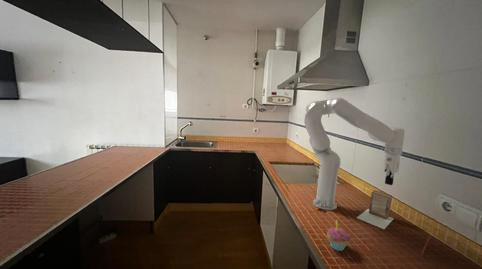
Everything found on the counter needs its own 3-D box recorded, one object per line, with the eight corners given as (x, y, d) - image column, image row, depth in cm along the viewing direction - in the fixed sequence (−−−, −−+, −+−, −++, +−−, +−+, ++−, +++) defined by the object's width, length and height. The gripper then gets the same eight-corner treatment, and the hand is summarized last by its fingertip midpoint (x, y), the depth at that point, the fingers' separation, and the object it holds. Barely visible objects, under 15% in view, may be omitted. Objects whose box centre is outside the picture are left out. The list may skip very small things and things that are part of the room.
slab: (386, 219, 102) (389, 197, 101) (368, 213, 108) (371, 191, 107) (388, 217, 105) (392, 195, 103) (371, 210, 111) (374, 189, 110)
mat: (384, 230, 94) (384, 229, 94) (356, 218, 103) (356, 217, 103) (393, 219, 104) (393, 218, 104) (367, 209, 113) (367, 208, 113)
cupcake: (338, 256, 75) (341, 226, 74) (320, 242, 83) (323, 214, 81) (354, 251, 79) (358, 222, 77) (335, 237, 86) (339, 211, 85)
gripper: (397, 154, 100) (393, 189, 102) (405, 150, 109) (400, 183, 112) (380, 151, 105) (376, 185, 108) (388, 148, 115) (384, 179, 117)
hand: (388, 184), depth 110 cm, fingers closed
